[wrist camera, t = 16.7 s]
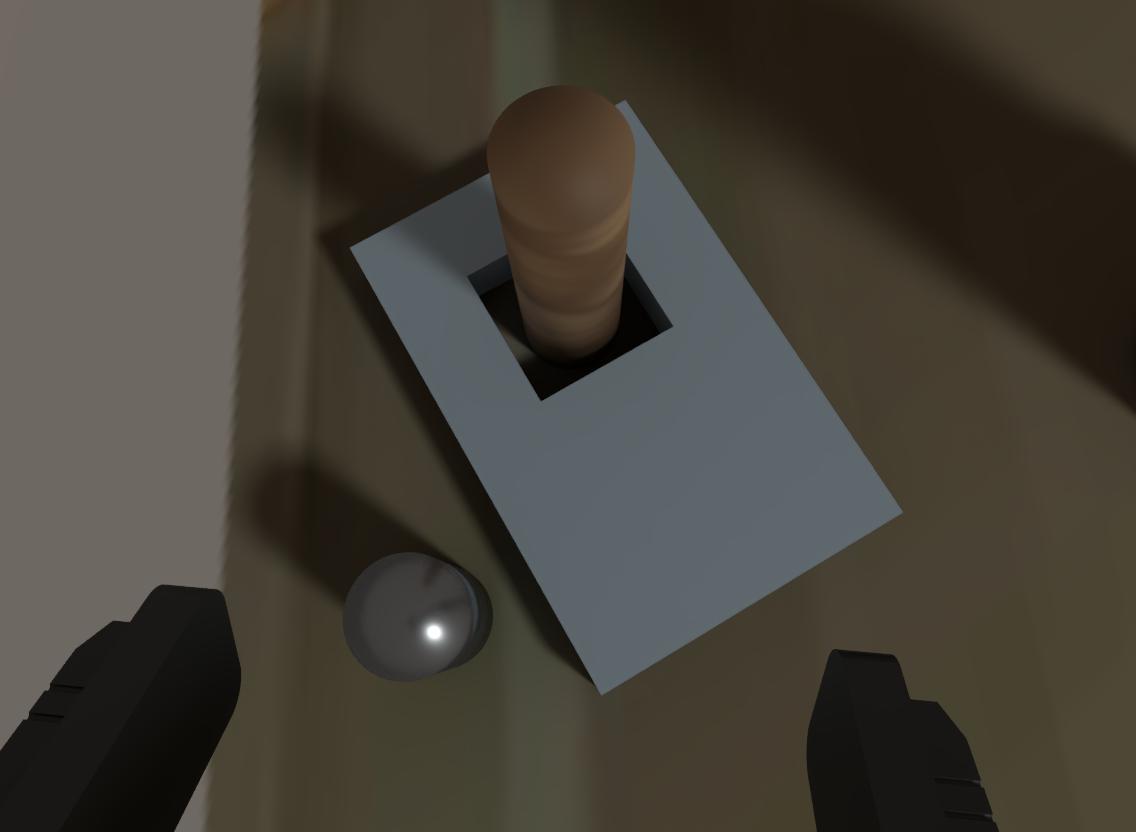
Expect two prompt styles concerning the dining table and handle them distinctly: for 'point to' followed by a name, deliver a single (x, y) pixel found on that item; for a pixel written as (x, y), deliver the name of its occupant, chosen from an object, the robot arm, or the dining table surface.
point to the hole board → (634, 427)
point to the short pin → (415, 617)
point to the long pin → (565, 217)
